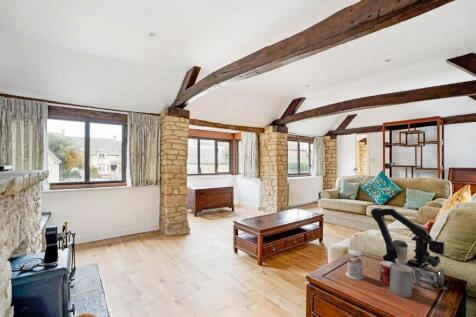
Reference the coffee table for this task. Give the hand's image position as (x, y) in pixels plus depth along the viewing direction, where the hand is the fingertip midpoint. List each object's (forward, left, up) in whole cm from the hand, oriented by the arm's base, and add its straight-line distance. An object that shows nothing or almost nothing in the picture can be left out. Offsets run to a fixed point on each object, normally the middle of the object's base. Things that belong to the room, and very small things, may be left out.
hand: (420, 274), depth 139 cm
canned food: (-21, -12, -2) cm, 24 cm away
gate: (0, -4, -1) cm, 4 cm away
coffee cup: (-4, +21, -2) cm, 21 cm away
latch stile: (-6, -10, -2) cm, 12 cm away
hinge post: (+6, -8, -2) cm, 10 cm away
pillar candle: (-18, -21, -2) cm, 28 cm away
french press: (-37, -9, -2) cm, 38 cm away
